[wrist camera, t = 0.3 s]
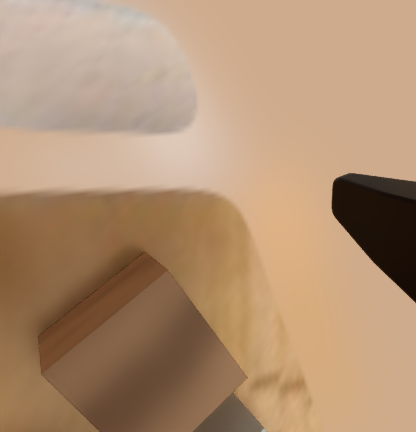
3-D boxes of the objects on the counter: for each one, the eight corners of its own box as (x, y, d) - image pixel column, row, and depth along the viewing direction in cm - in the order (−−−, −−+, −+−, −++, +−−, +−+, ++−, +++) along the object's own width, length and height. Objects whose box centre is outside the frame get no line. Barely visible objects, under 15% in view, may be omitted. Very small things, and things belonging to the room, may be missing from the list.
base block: (215, 346, 25) (247, 377, 22) (127, 428, 23) (146, 477, 20) (144, 251, 22) (167, 269, 19) (38, 336, 21) (41, 374, 17)
